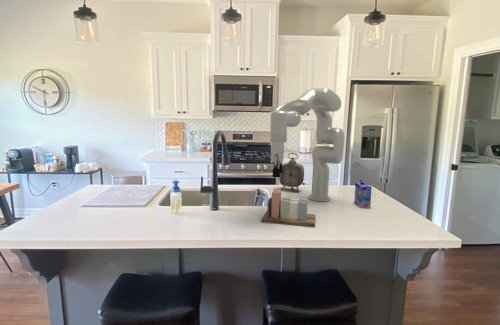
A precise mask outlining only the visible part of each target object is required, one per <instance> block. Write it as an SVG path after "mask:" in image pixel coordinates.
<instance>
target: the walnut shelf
mask: <svg viewBox="0 0 500 325" xmlns="http://www.w3.org/2000/svg"><path fill="white" fill-rule="evenodd" d="M266 205H267V209H266V211H265V213H264V214H263V216H262V218H261V223H269V224H278V225H280V224H281V225H287V226H288V225H289V226H297V227H299V226H300V227H306V228H307V227H309V228H316V214H311V213H308V198H303V197H299V198H292V197H291V196H289V197H288V196H282V197H281V213H280V216H279V218H274V217H271V208H272V196H271V197H269V199H268V201H267V204H266Z"/></svg>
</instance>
